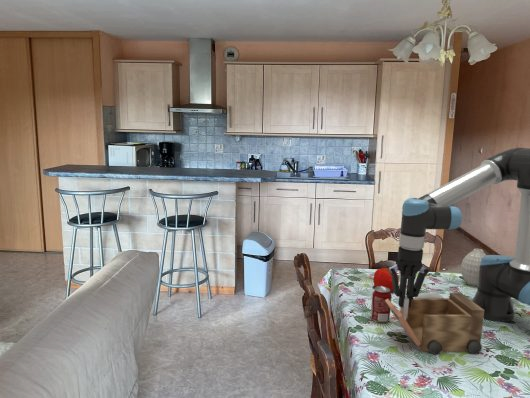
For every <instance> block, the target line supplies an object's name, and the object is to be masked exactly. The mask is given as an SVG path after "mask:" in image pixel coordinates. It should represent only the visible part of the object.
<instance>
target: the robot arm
mask: <svg viewBox="0 0 530 398" xmlns="http://www.w3.org/2000/svg"><path fill="white" fill-rule="evenodd" d="M512 180H513V181H516V182H517V183H516V189H517V190H518V191H519V192H520V203H519V204H520V205H519V213H518V221H517V223H518V225H517V234H516V244H515V255H514V256H509V255H500V254H499V255H498V254H486V256H483V257H482V259H481V264H480V269H479V279H478V286H477V290H476V293H475V295H474V296H473V299H472V300H471V301H473V302H474V303H475V304H477V305H478V306H479V307H481V308H482V309H484V318H483V319H486V320H490V321H496V322H511V321H513V320H514V319H515V318H514V317H515V310H514V309H515V308H514V305H513V301H512V299H514V300H516V301H519V302H520V304H525V305H527V306H530V147H529V148H528V147H515V148H514V147H513V148H509V149H506V150H504V151H502V152H498V153H497V154H494V155H492V156H490V157H488V158H485V160H482V161H481V162H480V165H479V166H477V167H475V168H473V169H471V170H469V171H468V172H466V173H464V174H462V175H460V176H458V177H456V178H455V179H452V180H451V181H449V182H446V183H445V184H443V185H441V186H439V187H437V188H435V189H434V190H432V191H430V192H428V193H426V194H424V195H423V196H419V197H418V198H417V197H409V198H407V199H406V200H404V202H403V203H402V207H401V210H402V211H401V220H400V221H401V223H400V233H399V241H398V242H399V243H398V245H399V246H398V250H397V260H396V262H395V264H394V265H392V266H391V265H390V266H388V267H387V269H389V271H390V272H391V277H392V284H393V290H392V291H393V294H394V295H395V296H396V297H397V298H398V307H399V308H400V309H399V312H400V313H401V314H402V315H403V317H404V318H405V319H406V318H407V314H408V307H409V308H410V307H411V301H412V300H413V298H415V297H418V295H419V294H420V293H421V290H422V287H423V284H424V280H425V278H426V276H427V275H428V273H429V272H430V271H429V269H428V268H427V267H425V266H423V263H422V261H423V257H424V256H423V255H424V248H425V247H424V246H425V237H426V231H427V230H447V231H448V230H449V231H450V230H456V229H458V228H460V226H461V224H462V221H463V214H462V212H461V211H462V210H460V208H459V207H457V206H452V205H454V204H456V203H457V202H460V201H461V200H464V199H465V198H467V197H469V196H471V195H473V194H475V193H476V192H479V191H481V190H482V189H484V188H486V187H488V186H491V184H493V185H498V184H499V183H501V182H504V181H505V182H506V181H512ZM398 271H399V275H400V277H399V275H398ZM397 275H398V276H397ZM398 277H399V278H400V279H399V283H398Z"/></svg>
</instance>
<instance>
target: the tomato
mask: <svg viewBox="0 0 530 398" xmlns="http://www.w3.org/2000/svg"><path fill="white" fill-rule="evenodd" d="M397 276H398V283H399V284H400V279H399V278H400V277H399V275H398V274H397ZM372 278H373V279H372V280H373V281H372V282H373V285H374V288H375V287H377V286H382V287H387V288H389V289H390V292H391V291H393V284H392V277H391V272H390V271H389V269H388V267H382V268H378V269H376V270H375V272H374V273H373V277H372Z"/></svg>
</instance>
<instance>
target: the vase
mask: <svg viewBox="0 0 530 398" xmlns="http://www.w3.org/2000/svg"><path fill="white" fill-rule="evenodd" d="M486 255H487V254H486V253H485V252H484V250H483V249H480V248H474V249H473V250H472V251H470V252H468V253H467V254H466V255H465V256H464V258H463V259H462V262H461V263H460V264H461V265H460V273H461V275H462V278H463V280H464V281H465V282H466V283H467V284H468V285H469V286H472V287H478V279H479V269H480V264H481V259H482V257H483V256H486Z"/></svg>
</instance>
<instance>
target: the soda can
mask: <svg viewBox="0 0 530 398" xmlns="http://www.w3.org/2000/svg"><path fill="white" fill-rule="evenodd" d="M371 295H372V296H371V307H370V308H371V309H370V318H371V320H373V321H374V322H376V323H379V324H380V323H381V324H383V323H388V322H389V321H390V317H391V309H390V308H389V306H388V305H387V303H386V302H385V300H386V299H389V301H390V302H391V303H392V293H391V291H390V289H389V288H387V287H382V286H377V287H375V286H374V290H373V291H372V293H371Z"/></svg>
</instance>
